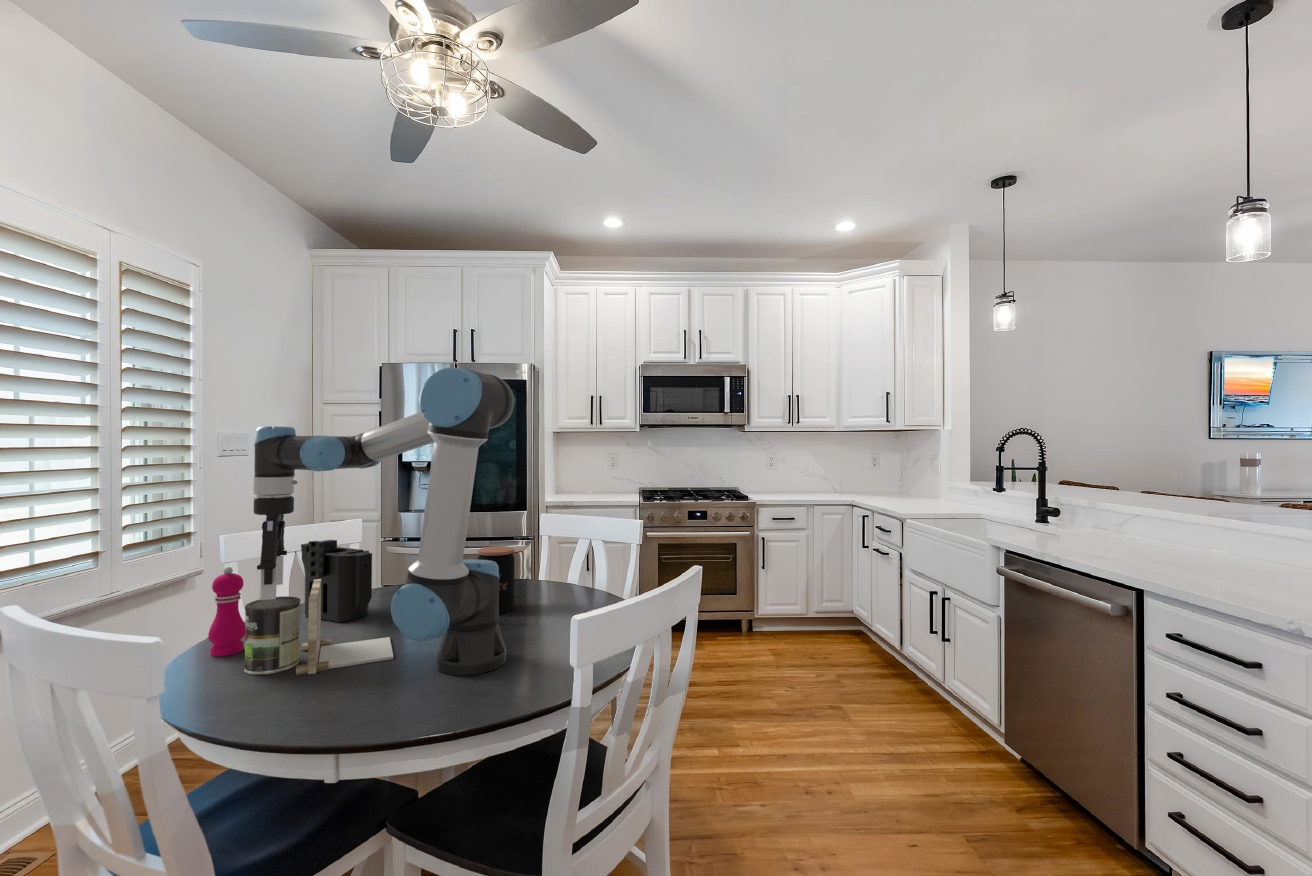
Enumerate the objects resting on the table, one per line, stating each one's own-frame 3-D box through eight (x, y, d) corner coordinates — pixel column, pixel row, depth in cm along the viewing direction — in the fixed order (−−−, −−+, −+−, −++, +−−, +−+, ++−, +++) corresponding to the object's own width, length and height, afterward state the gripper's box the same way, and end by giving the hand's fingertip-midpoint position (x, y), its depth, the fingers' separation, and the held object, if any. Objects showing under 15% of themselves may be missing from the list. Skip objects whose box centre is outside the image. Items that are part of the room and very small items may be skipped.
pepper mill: (252, 649, 139) (253, 565, 140) (219, 659, 133) (220, 571, 133) (234, 644, 142) (235, 562, 143) (201, 654, 136) (202, 568, 136)
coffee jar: (470, 614, 169) (470, 551, 169) (487, 604, 180) (487, 545, 180) (505, 616, 167) (505, 553, 167) (519, 605, 178) (520, 546, 178)
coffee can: (250, 679, 122) (251, 611, 122) (238, 666, 129) (239, 602, 129) (306, 665, 129) (306, 601, 130) (291, 654, 136) (292, 593, 137)
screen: (328, 671, 126) (328, 597, 126) (295, 676, 123) (296, 600, 124) (331, 643, 144) (331, 578, 144) (302, 646, 141) (303, 580, 141)
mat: (393, 658, 134) (393, 656, 134) (317, 670, 127) (317, 667, 127) (389, 639, 147) (389, 636, 147) (321, 648, 140) (321, 646, 140)
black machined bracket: (329, 607, 175) (329, 534, 175) (379, 615, 167) (380, 538, 167) (291, 618, 164) (291, 540, 164) (343, 627, 156) (343, 545, 156)
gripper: (288, 500, 120) (286, 603, 120) (298, 490, 142) (296, 577, 142) (244, 501, 117) (242, 608, 117) (261, 491, 139) (259, 580, 139)
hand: (272, 591), depth 129 cm, fingers open, 13 cm apart
